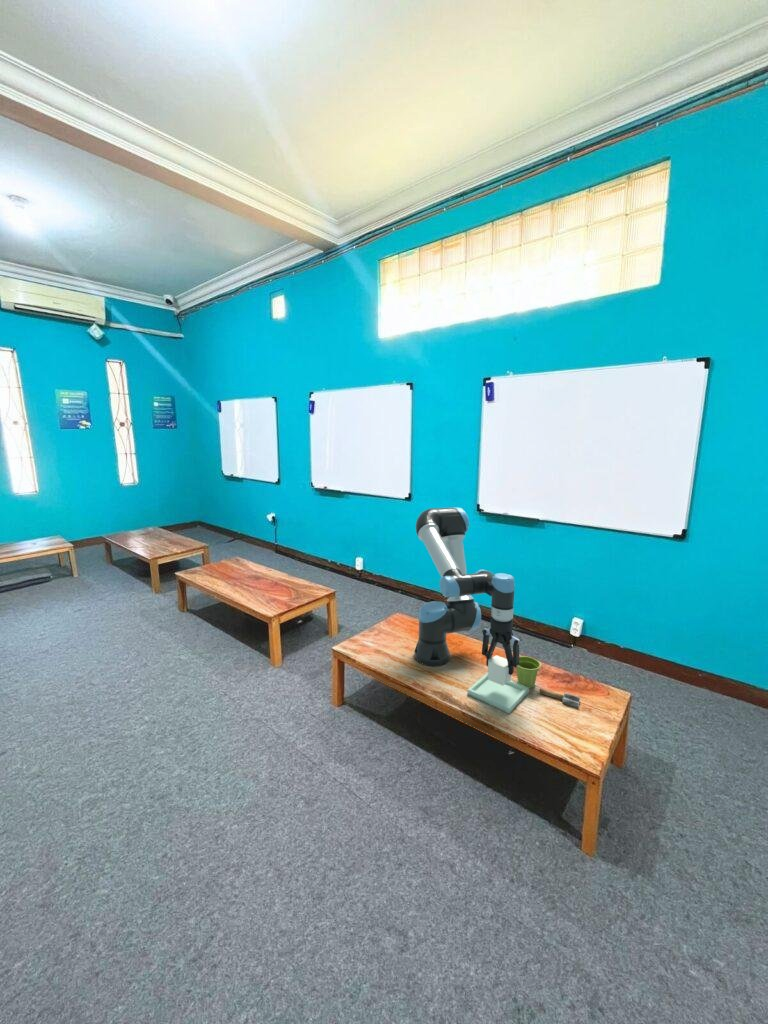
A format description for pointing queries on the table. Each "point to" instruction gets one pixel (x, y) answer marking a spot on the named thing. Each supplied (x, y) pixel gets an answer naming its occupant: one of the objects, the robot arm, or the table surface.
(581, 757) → the table surface
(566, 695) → the scoop
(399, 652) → the table surface
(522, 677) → the plant pot
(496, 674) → the block
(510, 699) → the tray
